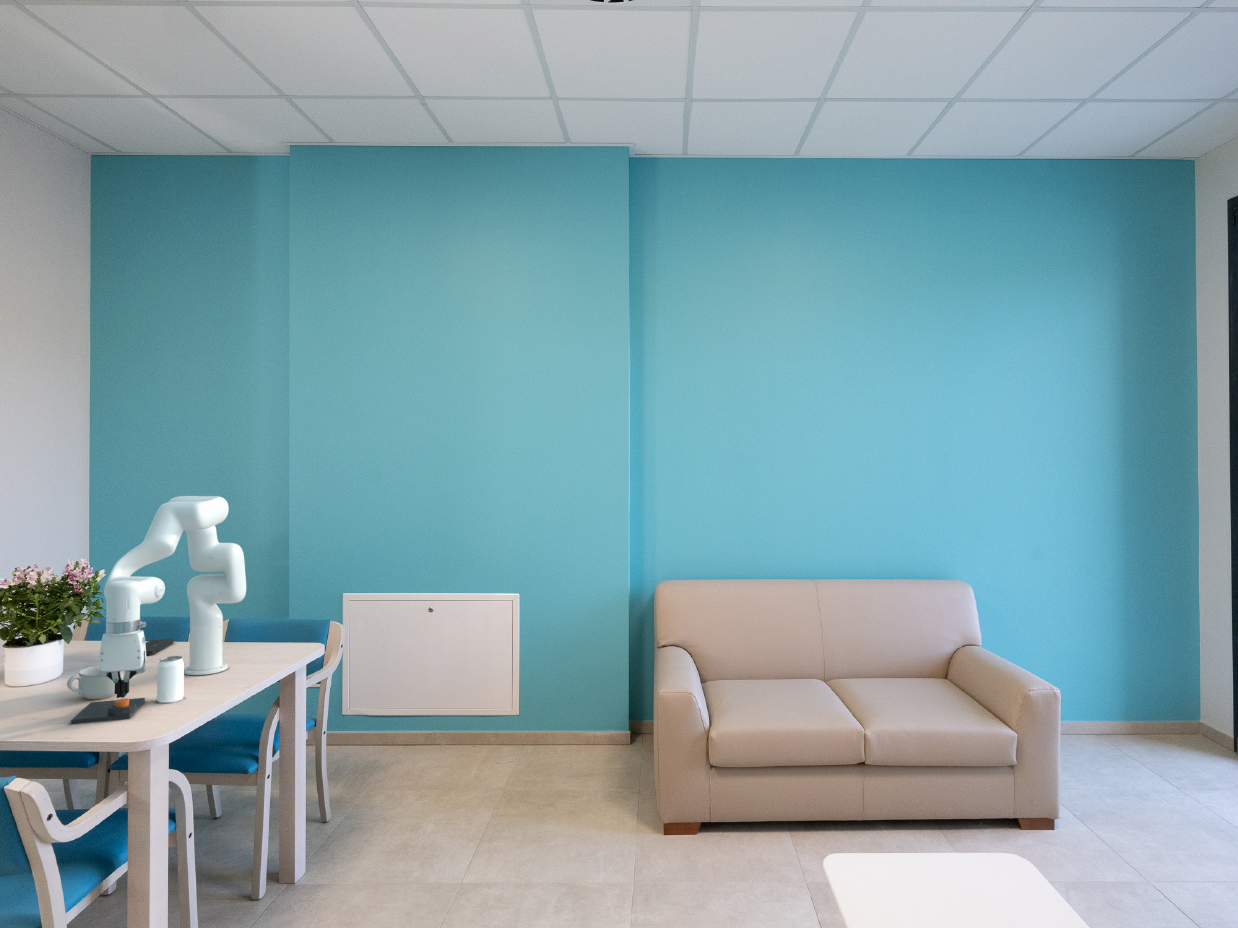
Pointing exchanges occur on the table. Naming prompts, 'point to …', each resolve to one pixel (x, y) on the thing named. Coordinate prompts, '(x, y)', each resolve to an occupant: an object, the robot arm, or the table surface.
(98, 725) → the table surface
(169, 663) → the can
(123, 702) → the button
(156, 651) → the smart home device
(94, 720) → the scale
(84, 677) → the teacup
